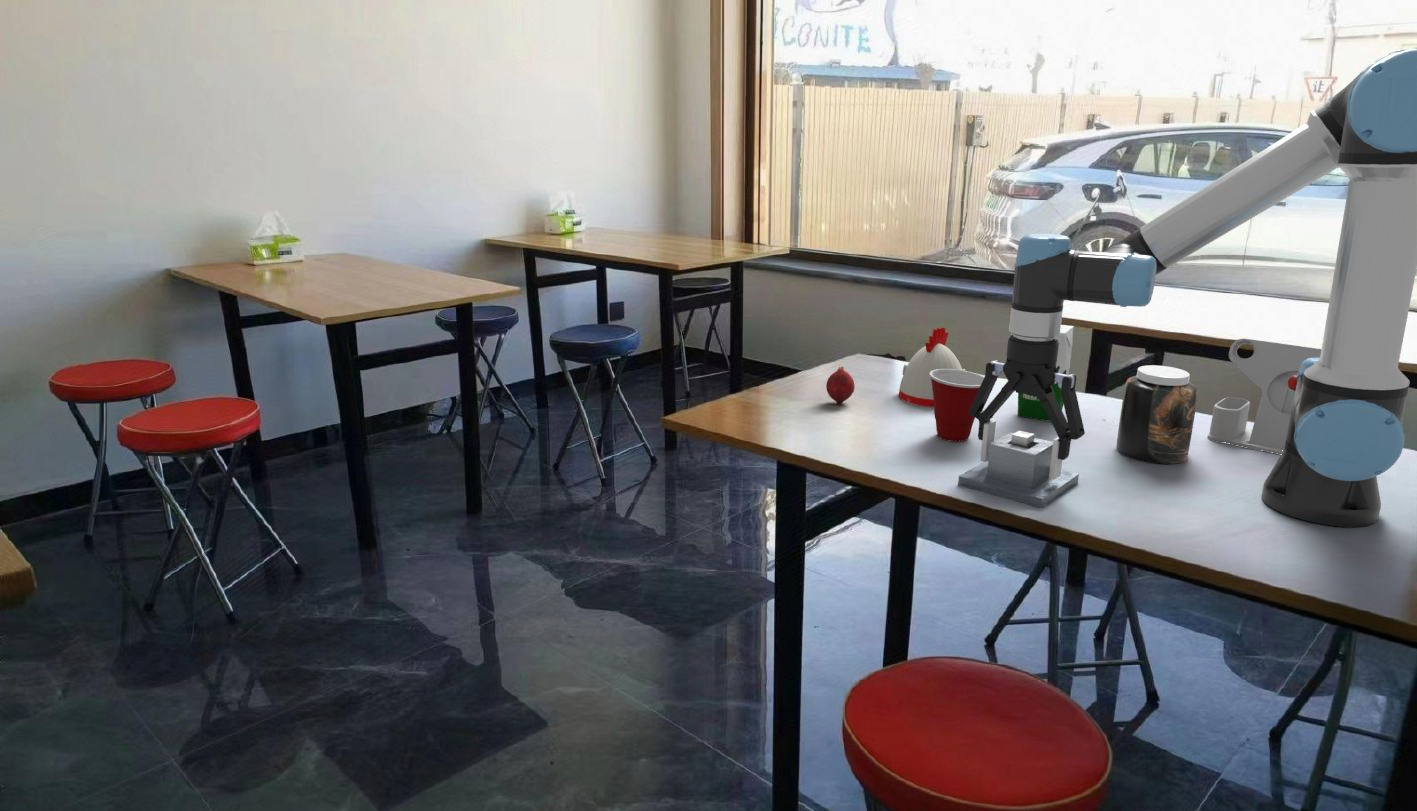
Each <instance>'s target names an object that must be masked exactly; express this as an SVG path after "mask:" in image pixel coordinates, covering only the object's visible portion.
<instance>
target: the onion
mask: <svg viewBox="0 0 1417 811" xmlns="http://www.w3.org/2000/svg"><path fill="white" fill-rule="evenodd" d="M854 381H855V380H854V379H853V377H852V376H851V375H850V373H849V372H848V371H846V370H845V367H844V366H843V365H840V366H838V368H837V370H836V371H835V372H833V373H832V374H830V376H829V377H828V378H827V380H826V384H825V385H826V386H825V387H826V392H827V394H828V396H829V397H830V398H831V399H832V400H834V402H836V404H843V403H844V402H846V401H847V400H848V399H849V398H850V397H852V395H853V394H854V391H855V382H854Z"/></svg>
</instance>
